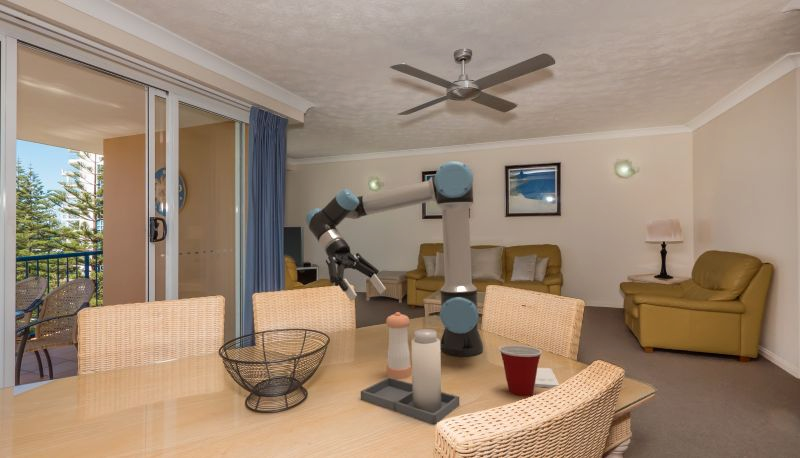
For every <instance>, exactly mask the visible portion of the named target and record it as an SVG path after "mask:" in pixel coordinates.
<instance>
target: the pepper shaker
mask: <svg viewBox="0 0 800 458" xmlns="http://www.w3.org/2000/svg"><path fill="white" fill-rule="evenodd" d="M410 323H411V321H410V318H409V316H407V315H405V314H402V313H401V312H399V311H397V312H395V313H394V314H390V315H389V316H388V317H387V318H386V319H385V324H386V326H387V327H388V346H387V365H386V378H388V377H391V378H394V379H398V380H403V379H408V378H410V377H411V376H412V363H411V361H410V360H411V352H410V347H409V342H408V327H409V325H411V324H410Z"/></svg>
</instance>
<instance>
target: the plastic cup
mask: <svg viewBox="0 0 800 458" xmlns="http://www.w3.org/2000/svg"><path fill="white" fill-rule="evenodd" d="M498 350H499V352H500V355H501V358H502V363H503V367H504V368H503V369H504V372H505V374H504V375H505V379H506V383H507V388H508V392H509V393H510V394H512V395H515V396H519V397H527V396H528V397H531V396H532V397H533V396H534V395H533V394H534V393H535V392H534V391H535V390H534V389H535V387H534V384H535V381H536V374H537V368H539V367H538V366H539V361H540V357H541V355H542V354H543V351H542V350H541V349H540V348H538V347H533V346H528V345H520V344H518V345H517V344H511V345H510V344H507V345H502V346H499V347H498Z"/></svg>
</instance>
